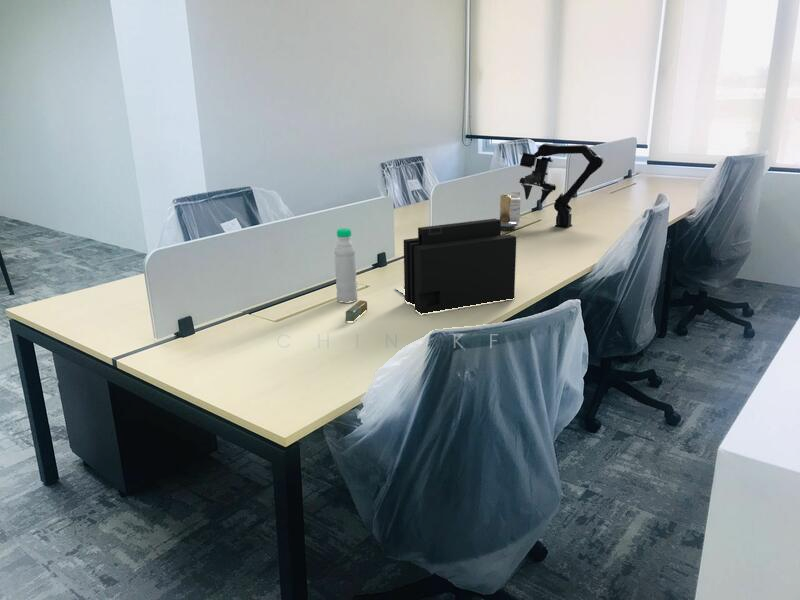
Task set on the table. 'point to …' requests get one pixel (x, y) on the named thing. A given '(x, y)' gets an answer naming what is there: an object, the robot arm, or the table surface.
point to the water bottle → (345, 267)
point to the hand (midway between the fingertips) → (533, 201)
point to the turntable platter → (510, 223)
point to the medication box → (356, 310)
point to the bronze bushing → (505, 208)
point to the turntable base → (507, 228)
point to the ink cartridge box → (515, 206)
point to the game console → (459, 265)
